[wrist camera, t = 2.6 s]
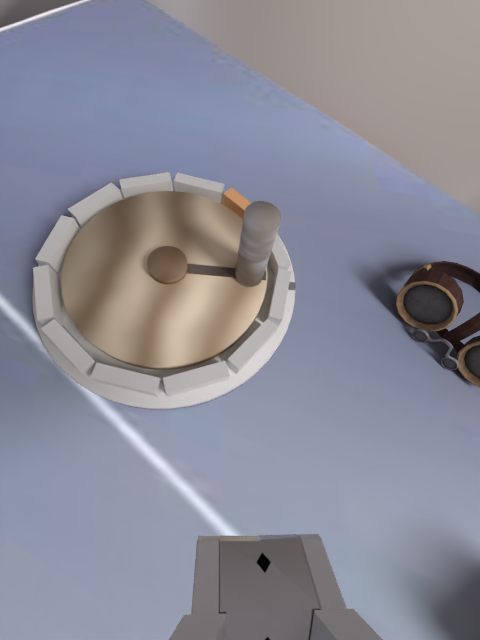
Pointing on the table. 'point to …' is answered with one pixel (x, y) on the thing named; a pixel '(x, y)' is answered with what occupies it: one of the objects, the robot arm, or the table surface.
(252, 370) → the dial base
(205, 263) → the dial
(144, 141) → the table surface
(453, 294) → the goggles
